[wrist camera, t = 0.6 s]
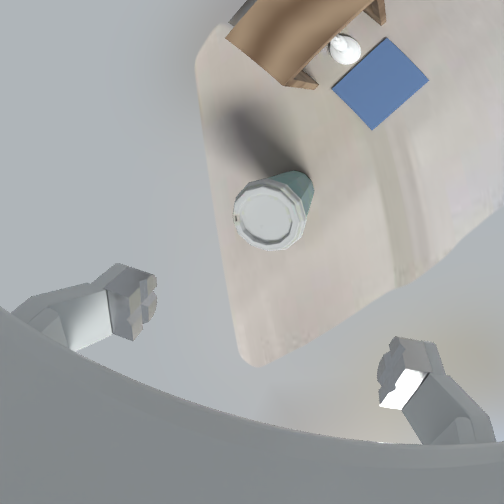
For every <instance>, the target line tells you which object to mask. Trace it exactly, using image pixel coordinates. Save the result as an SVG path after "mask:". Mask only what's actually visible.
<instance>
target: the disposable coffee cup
mask: <svg viewBox="0 0 504 504" xmlns="http://www.w3.org/2000/svg"><path fill="white" fill-rule="evenodd" d="M313 194H314V188H313V184H312V181H311V180H310V179H309V178H308V177H307V176H306V175H305V174H304V173H301V172H298V171H295V170H294V171H289V172H285V173H282V174H279V175H276V176H273V177H269V178H265V179H261V180H257V181H253V182H249V183H248V184H247V185H246V186H245V188H244V189H243V190H242V191H241V192H240V193H239V194H238V196H237V197H236V201H235V203H234V210H233V221H234V224H235V226H236V229H237V232H238V234H239V235H240V236H241V237H242V238H243V239H244V240H246V241H247V242H248V243H249V244H250V245H251V246H254V247H257V248H260V249H263V250H266V251H273V250H282V249H287V248H288V247H290V246H291V245H292V244H293V243H295V242H296V241H297V240H298V239H299V238H301V237H302V235H303V231H304V228H305V224H306V220H307V218H306V217H307V214H308V211H309V208H310V205H311V201H312V198H313Z"/></svg>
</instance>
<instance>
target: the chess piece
mask: <svg viewBox="0 0 504 504" xmlns="http://www.w3.org/2000/svg"><path fill="white" fill-rule="evenodd" d="M330 53H331V56H332V57H333V59H334V60H336V61H337V62H339V63H341V64H352V63H354V62H356V61H357V60H358V59H359V57H360V54H361V48H360V46H359V44H358V42H357V41H356V40H354V39H353V38H351V37H348V36H341V35H338V34H337V35H336V36H335V37H334V38H333V39H332V40H331V41H330Z"/></svg>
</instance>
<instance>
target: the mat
mask: <svg viewBox="0 0 504 504" xmlns="http://www.w3.org/2000/svg"><path fill="white" fill-rule="evenodd" d="M428 81H429V80H428V79H427V78H426V76H425V75H424V74H423V73H422V72H421V71H420V70H419V69H418V68H417V67H416V66H415V65H414V64H413V63H412V62H411V61H410V60H409V59H408V58H407V57H406V56H405V55H404V54H403V53H402V52H401V51H400V50H399V49H398V48H397V47H396V46H395V45H394V44H393V43H392V42H391V41H390V40H389V39H388V38H386V39H385V40H384V41H383V42H382V43H380V44H379V45H378V46H377V47H376V48H375V49H374V50H373V51H372V52H371V53H370V54H368V55H367V56H366V57H365V58H364V59H363V60H362V61H361V62H360V63H359V64H358V65H357V66H356V67H354V68H353V69H352V70H351V71H350V72H349V73H348V74H347V75H346V76H345V77H344V78H343V79H342V80H341V81H340V82H339V83H338V84H337V85H336V86H335V87H334V88H333V89H332V90H333V91H334V92H335V93H336V94H337V95H338V96H339V97H340V98H341V99H342V100H343V101H344V102H345V103H346V104H347V105H348V106H349V107H350V108H351V109H352V110H353V111H354V112H355V113H356V114H357V115H358V116H359V117H360V118H361V119H362V120H363V121H364V122H365V123H366V124H367V126H368V127H369V128H370V129H371V130H373V129H374V128H376V127H377V126H378V125H379V124H380V123H381V122H382V121H383V120H385V119H386V118H387V117H388V116H389V115H390V114H391V113H392V112H394V111H395V110H396V109H397V108H398V107H399V106H400V105H402V104H403V103H404V102H405V101H406V100H407V99H408V98H410V97H411V96H412V95H413V94H414V93H415V92H416V91H418V90H419V89H420V88H421V87H422V86H423V85H424V84H426V83H427V82H428Z"/></svg>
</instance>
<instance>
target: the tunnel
mask: <svg viewBox="0 0 504 504" xmlns="http://www.w3.org/2000/svg"><path fill="white" fill-rule="evenodd" d="M362 11H364V12H365V13H367V14H368V15H369V16H370V17H371V18H373V19H374V20H375V21H376V22H377V23H379V24H380V25H381V26H382V25H383V24H384V23H385V22H386V13H385V3H384V0H247V1H246V2H245V3H244V5H243V6H242V7H241V8H240V9H239V10H238V12H237V13H236V14H235V15H234V16H233V18H232V19H231V20H230V21H229V23H230V24H231V25H233V26H234V28H233V29H232V30H231V31H230V33H229V34H228V35H227V36H226V38H225V39H227V40H228V41H229V42H231V43H232V44H233V45H235V46H236V47H237V48H239V49H240V50H241V51H242V52H244V53H245V54H246V55H247V56H249V57H250V58H251V59H252V60H253V61H255V62H256V63H257V64H258V65H260V66H261V67H262V68H263V69H264V70H265V71H267V72H268V73H269V74H270V75H271V76H272V77H274V78H275V79H276V80H277V81H278V82H279V83H280V84H281V85H283V86H289V87H297V88H304V89H311V90H314V89H315V88H316V87H317V86H318V84H317V83H316V82H315V81H314V80H313V79H312V78H311V77H310V76H308V75H307V74H306V73H305V72H304V71H303V70H302V69H303V68H304V67H305V66H306V65H307V64H308V63H309V62H310V61H311V60H312V59H313V58H314V57H315V56H316V55H317V54H318V53H319V52H320V51H321V50H322V49H323V48H324V47H325V46H326V45H327V44H328V43H329V42H330V41H331V40H332V39H333V38H334V37H335V36H336V35H337V34H338V33H339V32H340V31H341V30H342V29H343V28H344V27H346V26H347V25H348V24H349V23H350V22H351V21H352V20H353V19H354V18H355V17H356V16H357V15H359V14H360V13H361V12H362Z"/></svg>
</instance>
